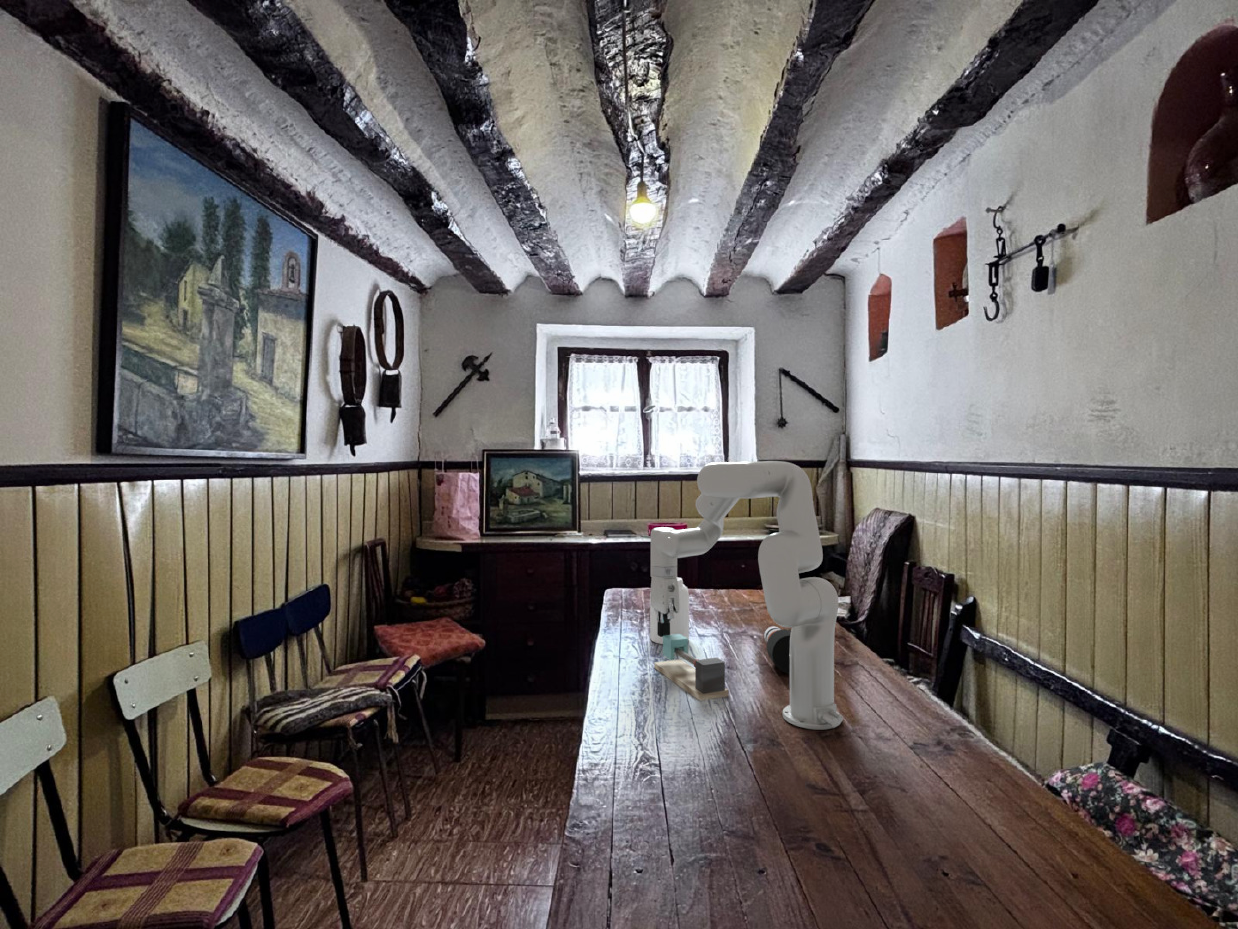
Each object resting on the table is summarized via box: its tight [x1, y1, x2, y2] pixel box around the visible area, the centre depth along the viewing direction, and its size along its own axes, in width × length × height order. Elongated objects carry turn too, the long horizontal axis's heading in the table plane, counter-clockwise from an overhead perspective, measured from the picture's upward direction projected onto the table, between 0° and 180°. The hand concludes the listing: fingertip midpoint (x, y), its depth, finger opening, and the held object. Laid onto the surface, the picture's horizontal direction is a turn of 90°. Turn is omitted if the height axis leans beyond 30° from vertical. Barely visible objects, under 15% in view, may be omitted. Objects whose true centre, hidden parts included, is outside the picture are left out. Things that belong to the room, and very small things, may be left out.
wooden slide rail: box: [653, 647, 729, 702], centre depth 170 cm, size 26×8×8 cm, turn 22°
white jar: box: [649, 576, 690, 645], centre depth 208 cm, size 12×12×20 cm
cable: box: [763, 625, 791, 675], centre depth 190 cm, size 10×34×10 cm, turn 173°
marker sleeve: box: [662, 634, 689, 661], centre depth 177 cm, size 5×5×5 cm
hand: (663, 635), depth 184 cm, fingers closed
